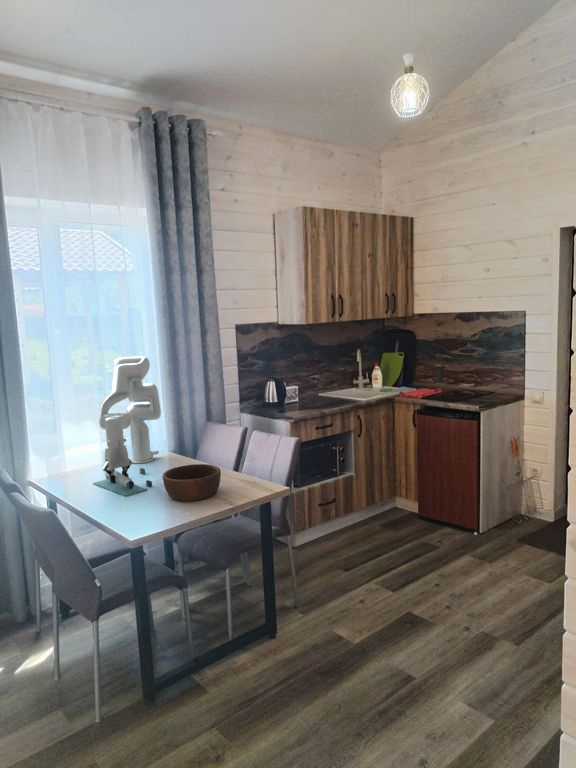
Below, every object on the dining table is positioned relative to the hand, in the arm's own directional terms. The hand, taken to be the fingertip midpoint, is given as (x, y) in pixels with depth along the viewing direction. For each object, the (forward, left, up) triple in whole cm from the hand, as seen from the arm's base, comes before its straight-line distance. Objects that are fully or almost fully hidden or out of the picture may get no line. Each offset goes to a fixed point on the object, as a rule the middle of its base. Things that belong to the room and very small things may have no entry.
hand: (119, 481), depth 271 cm
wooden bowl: (-15, +37, -3) cm, 40 cm away
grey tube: (0, 0, -1) cm, 1 cm away
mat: (0, 0, -3) cm, 3 cm away
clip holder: (-14, 0, -3) cm, 14 cm away
